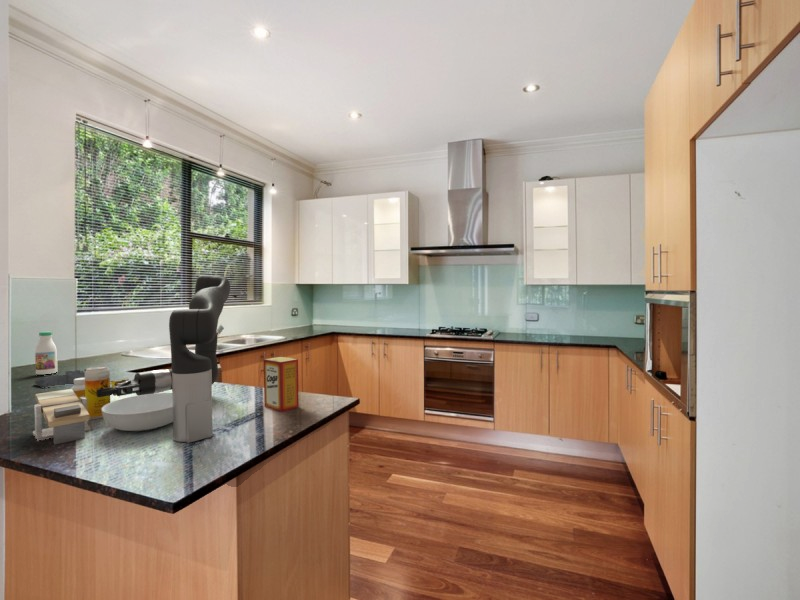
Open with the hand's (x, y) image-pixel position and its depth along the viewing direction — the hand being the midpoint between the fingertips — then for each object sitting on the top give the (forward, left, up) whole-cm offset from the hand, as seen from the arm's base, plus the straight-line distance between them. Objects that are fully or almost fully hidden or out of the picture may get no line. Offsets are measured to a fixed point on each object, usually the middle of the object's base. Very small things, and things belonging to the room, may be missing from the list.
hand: (93, 391), depth 123 cm
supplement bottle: (+16, 0, -8) cm, 18 cm away
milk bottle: (+99, -2, -8) cm, 99 cm away
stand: (-12, +9, -8) cm, 17 cm away
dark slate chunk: (+70, -6, -9) cm, 71 cm away
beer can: (0, -1, -8) cm, 8 cm away
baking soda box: (-34, -43, -8) cm, 56 cm away
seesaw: (-9, +9, -1) cm, 13 cm away
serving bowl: (-21, -8, -8) cm, 24 cm away
